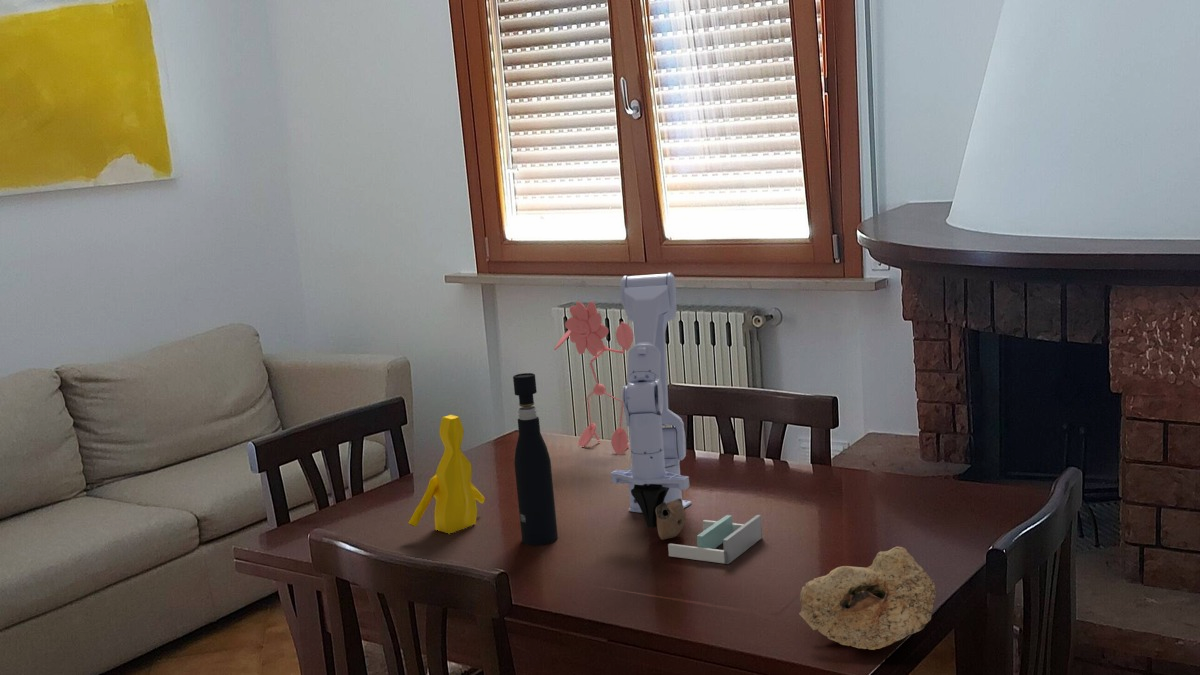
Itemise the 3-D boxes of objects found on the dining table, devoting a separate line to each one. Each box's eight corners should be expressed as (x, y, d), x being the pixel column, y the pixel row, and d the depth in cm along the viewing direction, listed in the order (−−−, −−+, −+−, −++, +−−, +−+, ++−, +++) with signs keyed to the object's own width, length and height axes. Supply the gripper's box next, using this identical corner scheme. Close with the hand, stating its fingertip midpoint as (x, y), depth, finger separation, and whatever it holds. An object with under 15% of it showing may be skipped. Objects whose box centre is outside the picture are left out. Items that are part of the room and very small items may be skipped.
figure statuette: (479, 513, 226) (467, 402, 223) (505, 519, 221) (493, 406, 217) (404, 539, 214) (390, 423, 210) (429, 547, 208) (416, 428, 205)
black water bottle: (563, 534, 209) (547, 371, 204) (550, 546, 203) (534, 378, 198) (530, 533, 211) (514, 371, 207) (516, 545, 205) (499, 379, 201)
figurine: (579, 441, 275) (566, 294, 269) (659, 456, 256) (647, 298, 250) (530, 457, 264) (515, 304, 259) (609, 473, 246) (595, 309, 240)
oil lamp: (665, 552, 197) (669, 508, 194) (644, 545, 198) (648, 502, 196) (688, 533, 204) (692, 491, 202) (668, 527, 206) (671, 485, 204)
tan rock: (854, 697, 153) (843, 657, 149) (795, 632, 165) (784, 594, 161) (965, 630, 157) (957, 589, 153) (899, 571, 169) (891, 532, 165)
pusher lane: (668, 556, 194) (667, 533, 193) (705, 530, 205) (703, 508, 204) (728, 564, 188) (726, 540, 187) (762, 537, 199) (761, 515, 198)
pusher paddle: (698, 556, 192) (696, 535, 191) (728, 534, 201) (726, 514, 201) (703, 556, 191) (702, 536, 191) (733, 534, 201) (732, 515, 200)
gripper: (599, 453, 201) (605, 528, 203) (672, 459, 193) (678, 537, 195) (620, 442, 206) (626, 516, 209) (692, 448, 199) (698, 524, 201)
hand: (653, 525), depth 202 cm, fingers closed
